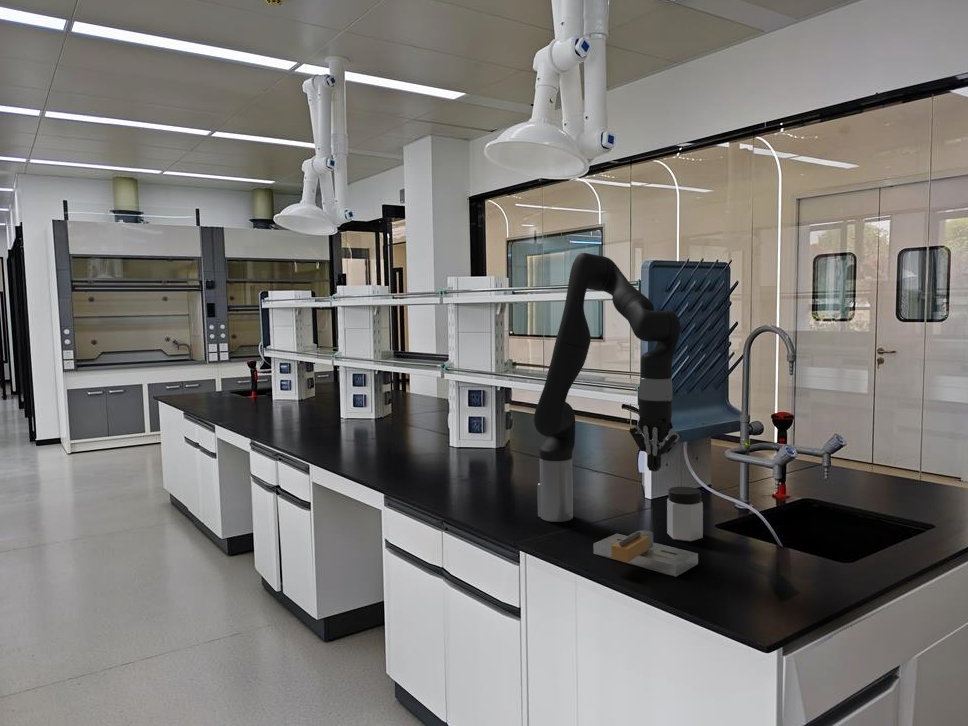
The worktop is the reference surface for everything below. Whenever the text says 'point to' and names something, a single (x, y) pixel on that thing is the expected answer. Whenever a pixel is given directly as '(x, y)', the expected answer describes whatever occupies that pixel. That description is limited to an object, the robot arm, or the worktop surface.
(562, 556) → the worktop surface
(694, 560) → the plate
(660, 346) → the robot arm
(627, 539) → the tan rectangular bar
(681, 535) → the jar
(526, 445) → the worktop surface
